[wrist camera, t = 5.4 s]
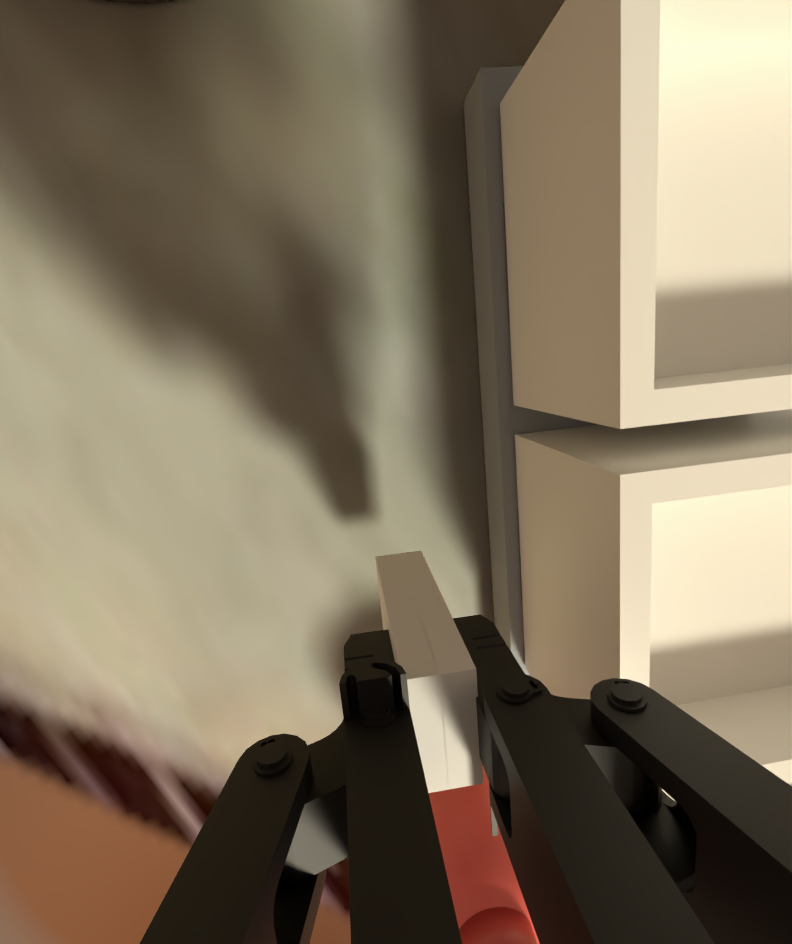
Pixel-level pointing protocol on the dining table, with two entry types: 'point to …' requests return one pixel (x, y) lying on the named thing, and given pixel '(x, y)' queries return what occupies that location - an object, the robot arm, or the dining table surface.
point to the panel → (498, 349)
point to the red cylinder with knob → (479, 869)
